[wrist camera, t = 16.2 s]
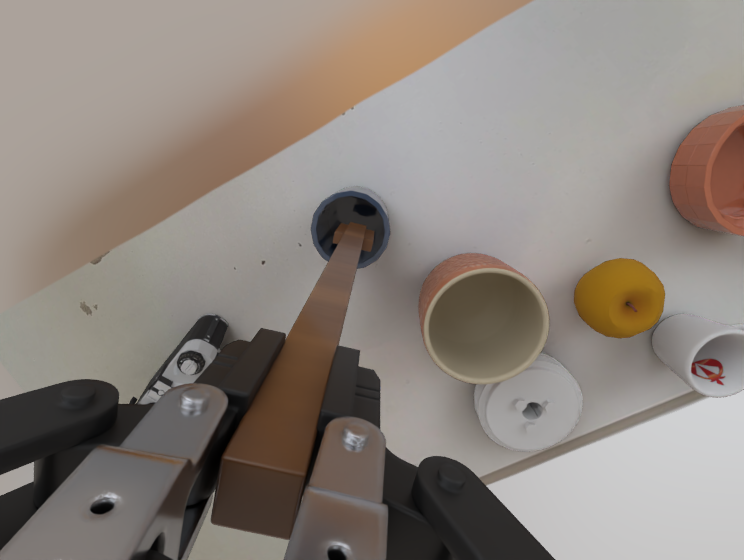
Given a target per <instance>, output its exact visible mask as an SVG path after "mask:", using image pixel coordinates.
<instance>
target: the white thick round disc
mask: <svg viewBox="0 0 744 560" xmlns="http://www.w3.org/2000/svg"><path fill="white" fill-rule="evenodd" d="M474 405H475V410H476V412H477V415H478V417H479V420H480V423H481V425H482V427H483V429H484V431H485V432H486V434H487V435H488V436H489V437H490V438H491V439H492V440H493V441H494V442H496V443H497V444H499V445H501V446H502V447H505V448H507V449H510V450H514V451H521V452H531V451H538V450H543V449H546V448H548V447H551V446H553V445H555V444H557V443H558V442H560V441H561V440H563V439H564V438H565V437H566V436H568V435H569V433H570V432H571V431H572V430H573V429H574V427H575V426H576V424H577V422H578V421H579V418H580V416H581V413H582V407H583V398H582V392H581V389H580V387H579V385H578V383H577V381H576V380H575V378H574V377H573V376H572V375H571V374H570V373H569V372H568V371H567V370H566V368H565V367H564V366H563V365H562V364H561V363H560V362H559V361H557V360H556V359H554V358H553V357H551V356H549V355H546V354H543V353H540V354H539V356H538V357H537V358H536V360H535V361H534V362H533V363H532V364H531V365H530V366H529V367H528V368H527V369H525V370H524V371H523V372H521V373H520V374H518V375H516V376H515V377H513V378H510V379H508V380H505V381H502V382H499V383H494V384H476V388H475V391H474Z"/></svg>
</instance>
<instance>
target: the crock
mask: <svg viewBox="0 0 744 560" xmlns="http://www.w3.org/2000/svg"><path fill="white" fill-rule="evenodd" d="M350 222H353V223H357V224H361V225H365V226H367V227H366V229H368V230H372V231H374V240H373V245H372V249H371V252H369V251H364V250H361V253H360V257H359V261H358V265H357V269H358V268H364V267H366V266H368V265H370V264H371V263H373V262H375V261H376V260H378V258H379V257H380V256H381V254H382V253H383V252H384V250H385V249H386V247H387V244H388V240H389V236H390V227H389V219H388V213H387V207H386V206H385V204H384V202H383V200H382V199H381V197H380V196H378V195H377V194H376V193H375V192H373V191H372V190H370V189H368V188H365V187H360V186H353V187H347V188H343V189H342V190H340V191H338V192H336V193H335V194H333V195H332V196H330V197H328V198H327V199H325V200H324V201H323V202H322V203H321V204H320V206H319V207H318V209H317V210H316V211H315V213H314V215H313V220H312V225H311V234H312V239H313V244H314V246H315V247H316V249H317V251H318V252H319V254H320V255H321V257H322V258H324V259H325V260H326V261H329V260H330V258H331V256H332V254H333V252H334V250H335V249H336V247H337V245H338V244H335V243H333V238H334V234H335V231H336V229H337V228H338V227H339V225H340V224H341V223H343V224H347V225H349V223H350Z"/></svg>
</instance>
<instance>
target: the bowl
mask: <svg viewBox="0 0 744 560" xmlns="http://www.w3.org/2000/svg"><path fill="white" fill-rule="evenodd" d="M669 187H670V191H671V196H672V200H673V203H674V205H675V206H676V208H677V209H678V211H679V212H680V214H681V215H682V217H684V218H685V219H686V220H688V221H689V222H691V223H692V224H694V225H695V226H697V227H700V228H704V229H708V230H712V231H717V232H722V233H728V234H733V235H738V236H743V237H744V105H741V106H735V107H730V108H728V109H725V110H723V111H720V112H718V113H715V114H713V115H711V116H709V117H708V118H706V119H705V120H704V121H702V122H701V123H700V124H698V125H697V126H696V127H695V128H693V129H692V131H691V132H690V133H689V134H688V136H687V137H686V138H685V140H684V141H683V142H682V143H681V145H680V146H679V148H678V150H677V153H676V155H675V158H674V160H673V162H672V165H671V173H670V182H669Z"/></svg>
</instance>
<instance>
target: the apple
mask: <svg viewBox="0 0 744 560" xmlns="http://www.w3.org/2000/svg"><path fill="white" fill-rule="evenodd" d="M664 299H665V291H664V286H663V284H662V283H661V281H660V280H659V278H658V277H657V276H656V274H655V273H654V272H653V271H651V270H650V269H649V268H648V267H646V266H645V265H644V264H642V263H641V262H639V261H636V260H634V259H623V258H619V259H614V260H609V261H605V262H603V263H602V264H600V265H598V266H596V267H595V268H593V269H592V270H590V271H589V272H588V273H586V274H585V275H584V276H583V277H582V278H581V279H580V280H579V282H578V284H577V286H576V288H575V293H574V303H575V306H576V309H577V311H578V313H579V316H580V317H581V318H582V319H583V320H584V321H585V322H586V323H587V324H588V325H589V326H590V327H591V328H592V329H594V330H595V331H597V332H599V333H601V334H603V335H605V336H608V337H614V338H628V337H632V336H634V335H637V334H639V333H642V332H644V331H646V330H649V329H650V328H651V327H652V326H654V325H655V324H656V323H657V322H658V320H659V318H660V316H661V314H662V312H663V307H664Z"/></svg>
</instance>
